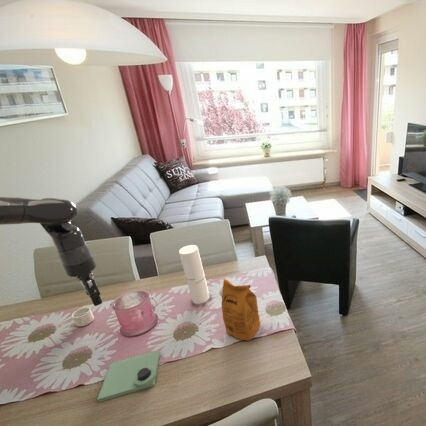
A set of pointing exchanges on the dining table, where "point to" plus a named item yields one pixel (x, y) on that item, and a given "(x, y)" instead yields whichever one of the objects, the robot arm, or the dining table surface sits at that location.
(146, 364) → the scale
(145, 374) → the button
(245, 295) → the coffee package
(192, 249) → the cylindrical container
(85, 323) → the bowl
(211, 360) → the dining table surface
